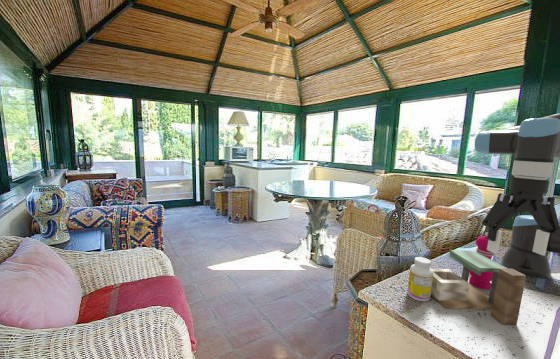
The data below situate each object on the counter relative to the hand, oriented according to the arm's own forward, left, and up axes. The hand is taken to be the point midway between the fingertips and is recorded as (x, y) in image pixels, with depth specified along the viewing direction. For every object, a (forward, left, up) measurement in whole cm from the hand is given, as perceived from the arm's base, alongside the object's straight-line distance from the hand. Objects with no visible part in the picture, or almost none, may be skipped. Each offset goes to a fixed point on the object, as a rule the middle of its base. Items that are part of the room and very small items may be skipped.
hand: (515, 252), depth 71 cm
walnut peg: (0, 0, -21) cm, 21 cm away
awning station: (+5, -12, -21) cm, 24 cm away
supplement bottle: (+19, -11, -21) cm, 30 cm away
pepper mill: (-9, -19, -21) cm, 30 cm away
